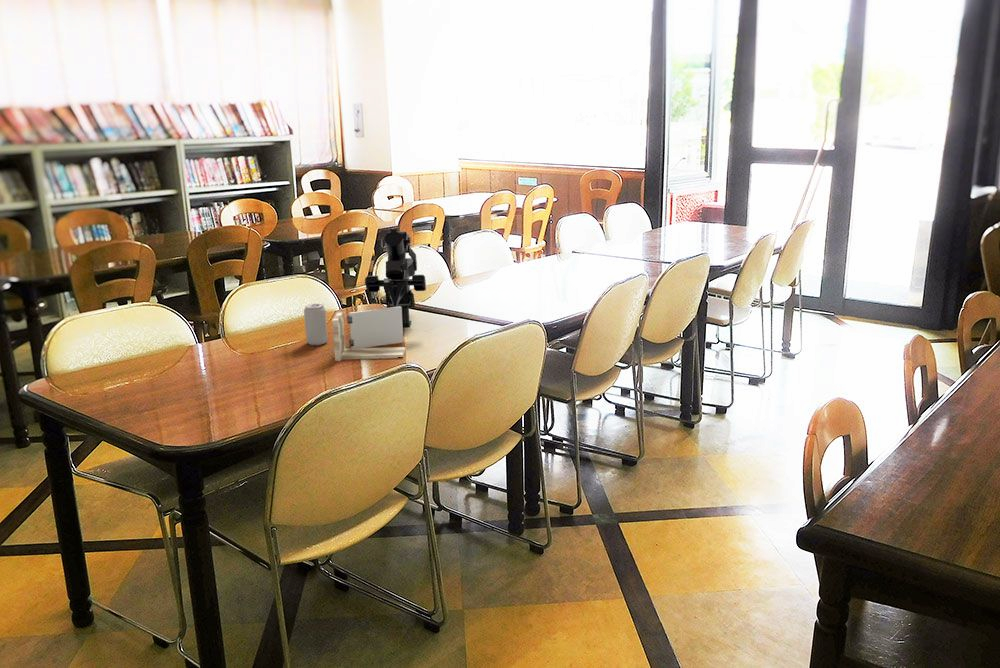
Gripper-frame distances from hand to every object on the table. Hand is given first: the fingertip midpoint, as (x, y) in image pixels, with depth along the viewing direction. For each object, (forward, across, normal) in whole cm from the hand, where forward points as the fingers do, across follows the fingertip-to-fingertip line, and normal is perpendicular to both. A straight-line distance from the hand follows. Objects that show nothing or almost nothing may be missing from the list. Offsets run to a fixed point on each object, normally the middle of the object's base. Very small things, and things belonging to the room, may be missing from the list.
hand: (394, 306), depth 249 cm
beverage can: (+10, -24, +4) cm, 27 cm away
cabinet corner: (+20, -6, -6) cm, 22 cm away
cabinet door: (+14, -5, 0) cm, 15 cm away
